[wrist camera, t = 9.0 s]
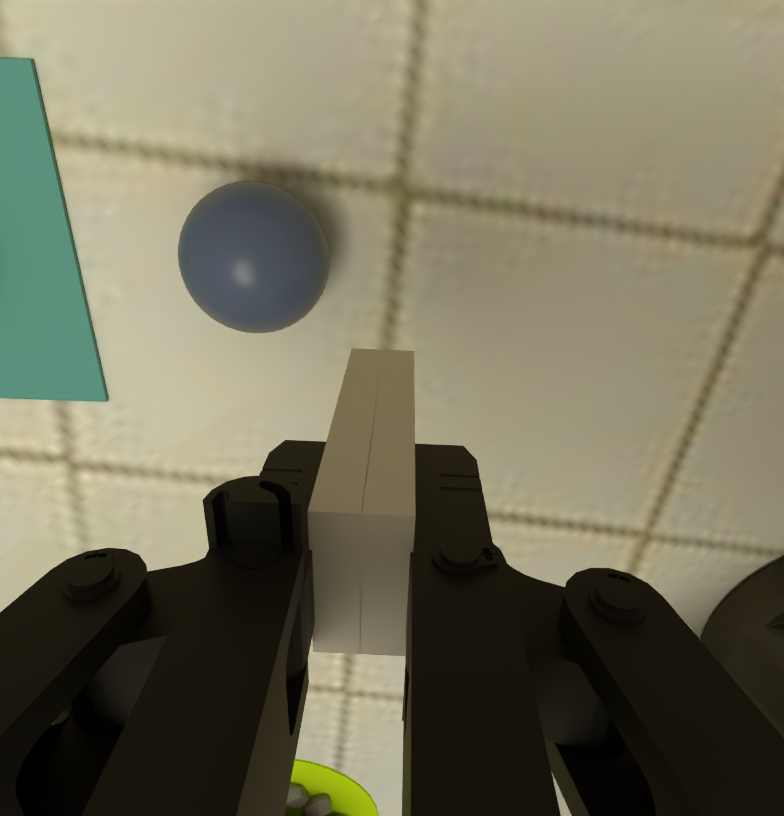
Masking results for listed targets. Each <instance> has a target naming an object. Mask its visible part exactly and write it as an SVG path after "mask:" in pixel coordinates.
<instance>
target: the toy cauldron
mask: <svg viewBox="0 0 784 816" xmlns="http://www.w3.org/2000/svg"><path fill="white" fill-rule="evenodd" d="M284 816H378V812H377V807H376V804H375V803H374V801H373V799H372V798H371V796H370V794H369V793H368V792H367V791H366V790H365V789H364V788H363V787H362V786H361V785H360V784H358V783H357V782H355V781H354V780H352V779H351V778H349V777H348V776H346V775H345V774H342V773H340V772H338V771H336V770H334V769H332V768H330V767H327V766H323V765H320V764H317V763H314V762H311V761H305V760H300V759H295V760H294V765H293V771H292V776H291V782H290V787H289V793H288V798H287V804H286V809H285V814H284Z"/></svg>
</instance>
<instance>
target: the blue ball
mask: <svg viewBox="0 0 784 816" xmlns="http://www.w3.org/2000/svg"><path fill="white" fill-rule="evenodd" d="M178 260H179V267H180V272H181V276H182V278H183V281H184V283H185V286H186V288H187V290H188V292H189V293H190V295H191V297H192V298H193V299H194V301H195V302H196V304H197V305H198V306H199V307H200V308H201V309H202V310H203V311H204V312H205V313H206V314H208V315H209V316H210V317H211V318H213V319H214V320H216V321H217V322H219V323H221V324H223V325H225V326H227V327H229V328H232V329H235V330H238V331H243V332H249V333H267V332H274V331H277V330H281V329H284V328H286V327H289V326H291V325H293V324H294V323H296V322H298V321H299V320H300V319H302V318H303V317H304V316H306V315H307V314H308V313H309V312H310V311H311V310H312V308H313V307H314V306H315V304H316V303H317V301H318V300H319V298H320V296H321V295H322V293H323V290H324V288H325V285H326V282H327V278H328V272H329V251H328V245H327V241H326V238H325V235H324V232H323V230H322V227H321V225H320V224H319V222H318V220H317V218H316V217H315V216H314V214H313V213H312V212H311V210H310V209H309V208H308V207H307V206H306V205H305V204H304V203H303V202H302V201H301V200H299V199H298V198H297V197H296V196H294V195H293V194H291V193H289V192H288V191H286V190H284V189H282V188H280V187H277V186H274V185H271V184H268V183H263V182H255V181H244V182H235V183H231V184H227V185H225V186H222V187H220V188H217V189H215V190H214V191H212V192H210V193H208V194H207V195H206V196H205V197H203V198H202V199H201V200H200V201H199V202H198V203H197V204H196V205H195V206H194V207H193V209H192V210H191V212H190V213H189V215H188V217H187V219H186V221H185V223H184V225H183V228H182V231H181V234H180V239H179V244H178Z"/></svg>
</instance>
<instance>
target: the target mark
mask: <svg viewBox="0 0 784 816" xmlns="http://www.w3.org/2000/svg"><path fill="white" fill-rule="evenodd" d="M0 398H11V399H40V400H69V401H98V402H107V401H108V396H107V391H106V387H105V382H104V378H103V373H102V369H101V364H100V360H99V355H98V351H97V346H96V341H95V337H94V332H93V328H92V323H91V319H90V314H89V310H88V305H87V301H86V296H85V292H84V287H83V283H82V278H81V274H80V269H79V265H78V260H77V256H76V251H75V246H74V242H73V237H72V233H71V228H70V224H69V219H68V215H67V210H66V206H65V201H64V197H63V192H62V188H61V183H60V179H59V174H58V170H57V165H56V161H55V156H54V152H53V147H52V142H51V138H50V133H49V129H48V124H47V120H46V115H45V111H44V106H43V102H42V97H41V93H40V88H39V84H38V79H37V75H36V70H35V66H34V61H33V60H31V59H6V58H0Z"/></svg>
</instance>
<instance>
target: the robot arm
mask: <svg viewBox="0 0 784 816" xmlns="http://www.w3.org/2000/svg"><path fill="white" fill-rule="evenodd" d="M203 506H204V513H205V520H206V528H207V535H208V543H209V550H208V552H207V555H206V557H205V558H203V559H201V560H199V561H196V562H193V563H189V564H185V565H181V566H176V567H171V568H165V569H160V570H154V571H148V572H147V567H146V564H145V563H144V561H143V560H142V559H141V557H140V556H139V555H138V554H135V553H133V552H131V551H129V550H126V549H116V548H105V549H99V550H93V551H87V552H85V553H82V554H80V555H77V556H74V557H72V558H69V559H67V560H65V561H64V562H62V563H61V564H59V565H58V566H56V567H55V568H53V569H52V570H50V571H49V572H48V573H47V574H45V575H44V576H43V577H42V578H41V579H39V580H38V581H37V582H36V583H35V584H34V585H32V586H31V587H30V588H29V589H28V590H26V591H25V592H24V593H23V594H22V595H20V596H19V597H18V598H17V599H16V600H15V601H13V602H12V603H11V604H10V605H9V606H7V607H6V608H5V609H4V610H3V611H2V612H0V816H284V814H285V809H286V804H287V798H288V793H289V787H290V782H291V776H292V771H293V765H294V760H295V754H296V749H297V744H298V738H299V733H300V727H301V722H302V716H303V711H304V705H305V700H306V694H307V689H308V683H309V678H308V654H309V649H310V644H311V639H312V635H313V652H331V653H352V654H373V655H393V656H406V665H405V682H404V699H403V716H402V721H404V731H403V790H402V816H561V815H560V810H559V806H558V801H557V796H556V792H555V787H554V782H553V778H552V773H553V775H554V777H555V779H556V782H557V784H558V786H559V788H560V790H561V793H562V795H563V797H564V799H565V801H566V804H567V806H568V808H569V810H570V813H571V815H572V816H784V559H783V560H781V561H779V562H777V563H775V564H773V565H771V566H769V567H768V568H766V569H764V570H763V571H761V572H759V573H758V574H756V575H755V576H753V577H752V578H750V579H749V580H748V581H746V582H745V583H744V584H742V585H741V586H740V587H739V588H738V589H736V590H735V591H734V592H733V593H732V594H731V595H730V596H729V597H728V598H727V599H726V600H725V601H724V602H723V603H722V605H721V606H720V607H719V608H718V610H717V611H716V612H715V614H714V615H713V617H712V618H711V620H710V621H709V623H708V625H707V627H706V629H705V631H704V634H703V637H702V640H701V641H700V640H699V638H698V637H697V636H696V635H695V634H694V633H693V631H692V630H691V629H690V628H689V627H688V626H687V624H686V623H685V622H684V621H683V620H682V619H681V617H680V616H679V615H678V614H677V613H676V611H675V610H674V609H673V608H672V607H671V606H670V604H669V603H668V602H667V601H666V600H665V599H664V597H663V596H662V595H660V594H659V593H658V592H657V591H656V590H655V589H654V588H652V587H651V586H650V585H649V584H648V583H646V582H644V581H642V580H640V579H638V578H637V577H635V576H633V575H631V574H629V573H625V572H621V571H617V570H614V569H610V568H589V569H586V570H583V571H580V572H576V573H575V574H574V575H573V576H572V577H571V578H570V579H569V580H568V581H567V582H566V586H565V587H562V586H558V585H555V584H551V583H548V582H544V581H541V580H537V579H535V578H532V577H529V576H527V575H524V574H522V573H521V572H519V571H517V570H515V569H513V568H512V567H511V566H509V565H508V564H507V563H506V560H505V558H504V556H503V554H502V552H501V550H500V549H499V548H498V547H497V546H496V545H494V544H493V542H492V537H491V532H490V527H489V522H488V517H487V511H486V506H485V501H484V496H483V492H482V486H481V481H480V479H479V470H478V465H477V460H476V459H475V458H474V457H473V456H472V455H471V454H470V453H469V451H468V450H467V449H466V448H465V447H464V446H455V445H431V444H415V403H414V351H400V350H376V349H352V350H351V354H350V358H349V361H348V365H347V369H346V372H345V376H344V380H343V383H342V387H341V391H340V394H339V398H338V402H337V405H336V409H335V412H334V416H333V420H332V423H331V427H330V431H329V434H328V438H327V442H318V441H295V440H285V441H284V442H282V443H281V444H280V445H279V446H277V447H276V448H275V449H274V450H272V451H271V452H270V453H269V455H268V457H267V459H266V461H265V464H264V466H263V470H262V471H261V473H260V475H259V476H248V477H242V478H238V479H235V480H231V481H227V482H225V483H223V484H222V485H220V486H218V487H216V488H214V489H213V490H211V492H210V493H209V494H208V495H207V496H206V497H205V498H204V499H203ZM551 771H552V773H551Z"/></svg>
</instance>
